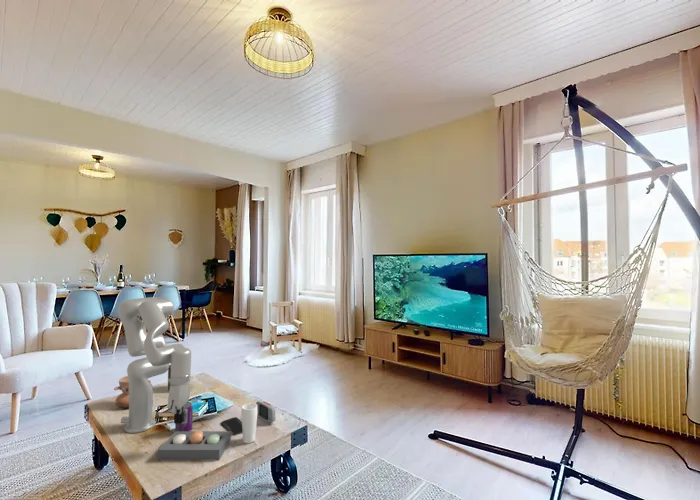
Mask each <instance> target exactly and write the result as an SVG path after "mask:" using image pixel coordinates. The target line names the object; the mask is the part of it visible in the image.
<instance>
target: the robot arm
mask: <svg viewBox="0 0 700 500" xmlns="http://www.w3.org/2000/svg"><path fill="white" fill-rule="evenodd" d="M174 311H175V306H174V303H173V301H172V300H171V299H169V298H166V297H160V296H153V297H151V296H150V297H143V298H130V299H126V300H124V301H122V302H121V303H120V304H119V306H118V317H119V320H120V323H121V324H122V326H123V329H124V333H125V340H126V341H125V342H126V347H127V352H128V355H130V357H132V358H133V357H141V356H146V357H142V358H138V359H135V360H133V361H131V362H130V363H129V364H128V365H127V368H126V374H127V376H128V380H129V407H128V416H122V417H121V419H120V424H125V426H124V431H125V432H126V433H128V434H135V433H136V434H137V433H143V432H144V431H145V432H146V431H148V430H151V429H152V428H153V427H155V425H156V424H157V421H155V420H156V418H153V405H154V404H153V401H154V400H153V399H154V390H153V389H154V388H153V384H152V382H151V383H150V382H149V381H148V380H149V379H150V378H154V377H156V376H160V375H162V374H166V373H168V368H169V365H171V376H170V384H171V385H170V390H169V392H168V397H167V398H168V399H167V410H171V415H174V416H173V417H174V418H173V424H175V423H182V422H183V421H184V409H185V404H186V403H187V402H189V400H190V395H191V392H190V391H191V390H190V388H191V387H190V383H191V375H192V374H191V368H192V367H191V366H192V350H191V349H190V348H188V347H185V345H184V344H181V343H174V344H168V345H167V342H166V339H165V337H164V335H163V334H164V333H165V332H167V331H168V329H169V328H170V324H169V321H168V319H167V318H166V317H168V316H171V315H172V314H173V313H174ZM139 317H141V319H140V318H139ZM155 423H156V424H155Z"/></svg>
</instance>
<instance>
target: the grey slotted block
mask: <svg viewBox="0 0 700 500" xmlns="http://www.w3.org/2000/svg"><path fill="white" fill-rule="evenodd" d="M195 431H196V430H195ZM195 431H194V430H193V431H192V430H190V431H174V433H172V435H171V436H169V437H168V439H167V440H166V441H165V442H164V443H163V444H162V445H161V446H160V447H159V448H158V451H157V452H158V453H157V455H158V456H157V460H158V461H220V459H221V458H222V457H223V455H224V453H225V451H226V450H227V447H228V446H229V444H230V443H231V441H232V440H231V439H232V436H231V435H232V434H231V431H228V430H225V431H221V430H219V431H217V430H215V431H209V430H208V431H202V432H203V441H202V443H201V444H190V434H191V433H193V432H195ZM179 434H185V435H186V441H185V442H184V444H173V437H175V436H176V435H179ZM213 434H218V435H219V436H220V440H219V443H218V444H207V437H208V436H210V435H213Z"/></svg>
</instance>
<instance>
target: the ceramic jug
mask: <svg viewBox="0 0 700 500" xmlns="http://www.w3.org/2000/svg"><path fill="white" fill-rule="evenodd" d="M147 380H148V381H149V382H150V383H151V384H152V382H151V380H150V379H147ZM118 384H119V386H115V387H114V388H113V390H114V391H117V390H119V391H121V392H122V393H120V394H119V395H118V396H117V397H116V398H115V405H116V406H118V407H119V408H129V380H128V375H124V376H122V377H120V378H119V379H118Z"/></svg>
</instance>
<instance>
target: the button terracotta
mask: <svg viewBox="0 0 700 500" xmlns="http://www.w3.org/2000/svg"><path fill="white" fill-rule="evenodd" d="M202 441H203V432H202V431H201V430H195V432H193V433H191V434H190V444H201V443H202Z"/></svg>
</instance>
